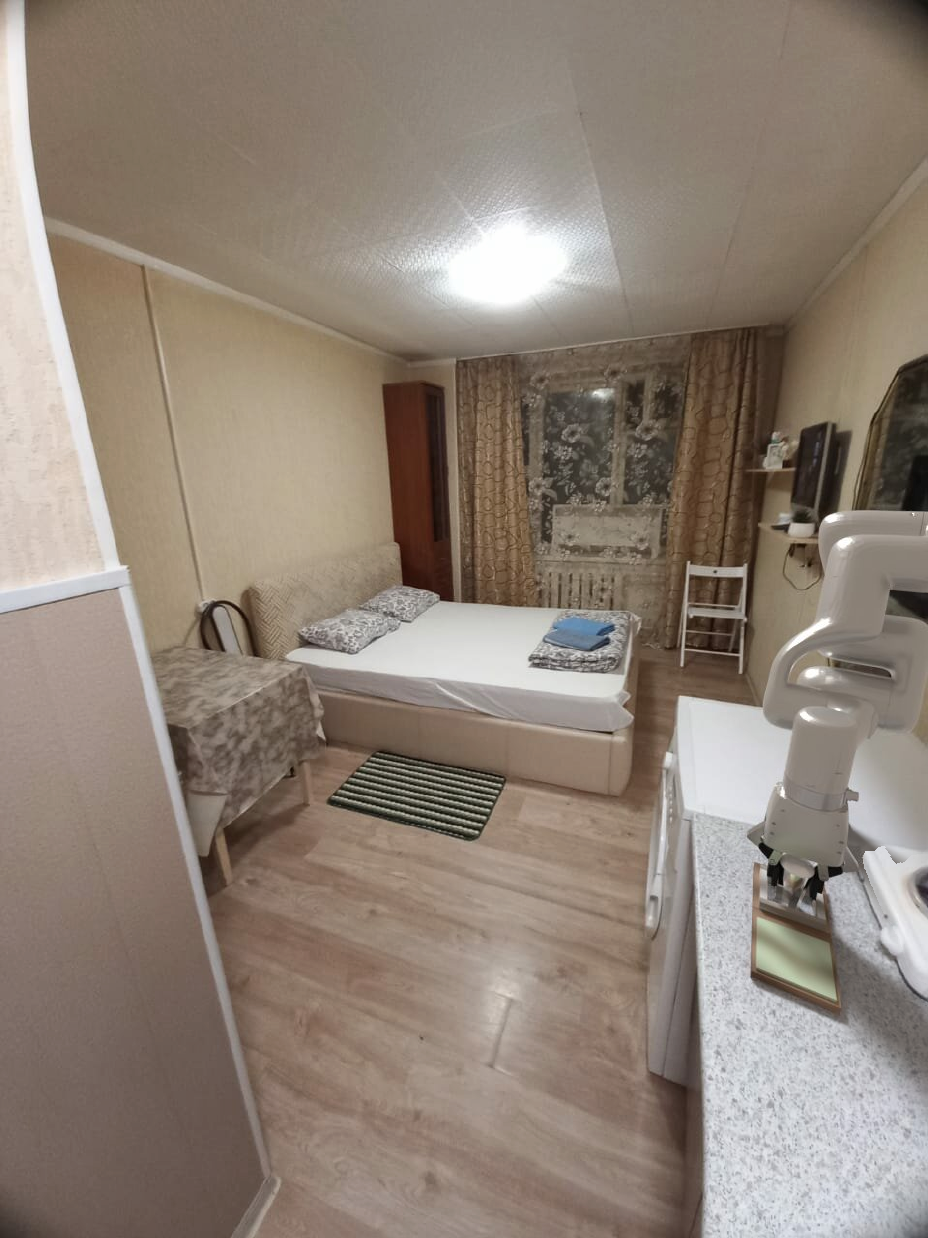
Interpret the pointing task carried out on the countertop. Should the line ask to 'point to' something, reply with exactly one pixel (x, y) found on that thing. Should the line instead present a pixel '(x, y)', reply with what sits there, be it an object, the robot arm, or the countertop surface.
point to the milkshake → (793, 880)
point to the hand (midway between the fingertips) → (792, 886)
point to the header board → (793, 946)
